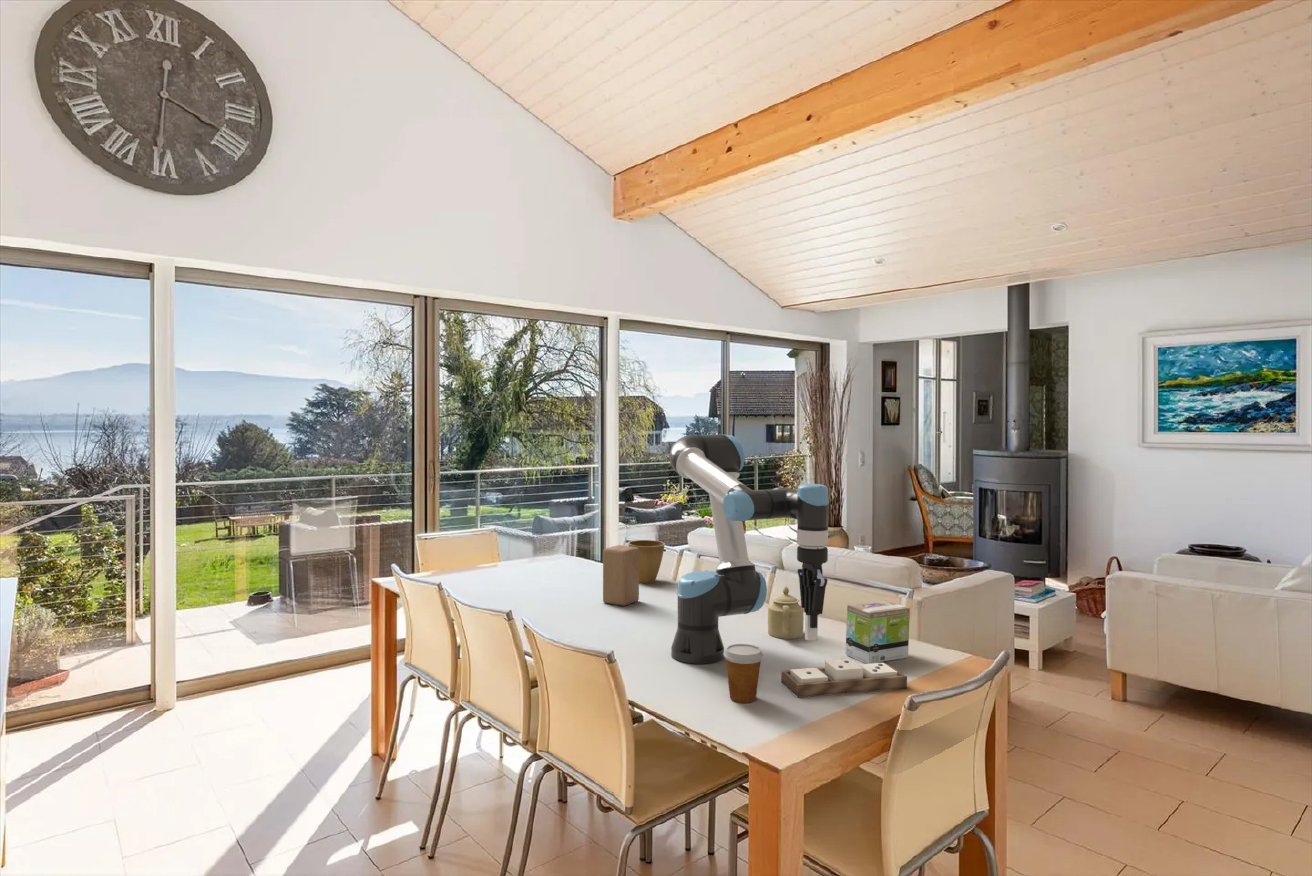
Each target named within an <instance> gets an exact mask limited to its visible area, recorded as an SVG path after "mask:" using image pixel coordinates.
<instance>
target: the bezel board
mask: <svg viewBox="0 0 1312 876" xmlns="http://www.w3.org/2000/svg"><path fill="white" fill-rule="evenodd" d="M883 663H884V664H886V665H887V666H889V667H891V668H892V669H894V670H895V671H897V676H889V677H876V678H870V677H869V676H867V675H866V674H864V673H863V679H850V680H837V681H836V680H834V679H833V678H832V677H830V676H829V675H828V674H827V673H825V666H824V667H816V668H817V669H818V670H820V671H821V672H822V673H823V674H825V675H826V676H827V677H828V681H824V682H812V683H799V682H798V681H797V680H795V679H794V678H793V677H792V676H791V675H790V670H791V669H786V670H781V671H780V676H781V677H780V679H781V681H780V682H781V684H783V685H784V687H786V688H787V689H788V691H790V692H791V693H792V694H793V695H794V696H796V697H797V698H803V697H804V698H807V697H819V696H820V697H821V696H831V695H842V694H844V695H845V694H853V693H854V694H855V693H856V694H857V693H867V692H879V691H890V690H891V691H892V690H903V689H904V690H905V689H908V676H907V675H905V674H904V673H902V672H901V671H899V670H897V669H896V668H894V667H893V666H891V665H889V664H888V663H886V662H883Z"/></svg>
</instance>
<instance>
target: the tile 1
mask: <svg viewBox="0 0 1312 876" xmlns="http://www.w3.org/2000/svg"><path fill="white" fill-rule="evenodd" d="M817 668H818V667H806V668H792V669H789V670H790V675H791V676H792V677H793V678H794V679H795V680H797V681H798V682H799V683H812V682H824V681H828V677H827V676H826V675H825V674H823V673H822V672H821V671H820V670H818V669H817Z"/></svg>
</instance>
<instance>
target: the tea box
mask: <svg viewBox="0 0 1312 876" xmlns="http://www.w3.org/2000/svg"><path fill="white" fill-rule="evenodd" d="M910 609H911V608H910V607H908V606H904V605H901V604H899V603H896V602H893V601H890V600H884V599H883V600H877V601H876V600H875V601H869V602H861V603H853V604H847V610H846V627H845V629H846V630H845V633H846V634H845V655H847V656H848V657H850V658H852V659H855V660H857V661H859V662H861V663H863V664H872V663H884V662H888V661H889V662H890V661H894V660H901V659H902V660H903V659H907V658H908V657H909V639H910V635H909V634H910V614H911V610H910Z"/></svg>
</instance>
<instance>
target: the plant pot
mask: <svg viewBox="0 0 1312 876" xmlns="http://www.w3.org/2000/svg"><path fill="white" fill-rule="evenodd" d="M665 544H666V543H665V542H663V541H659V540H649V539H637V540H631V541H629V542H628V546H630V547H637V548H639V584H653V583H655V582H656V579H657V577H658V574H659V571H660V567H661V564H662V562H663V561H662V560H663V556H664V550H665V546H666V545H665Z"/></svg>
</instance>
